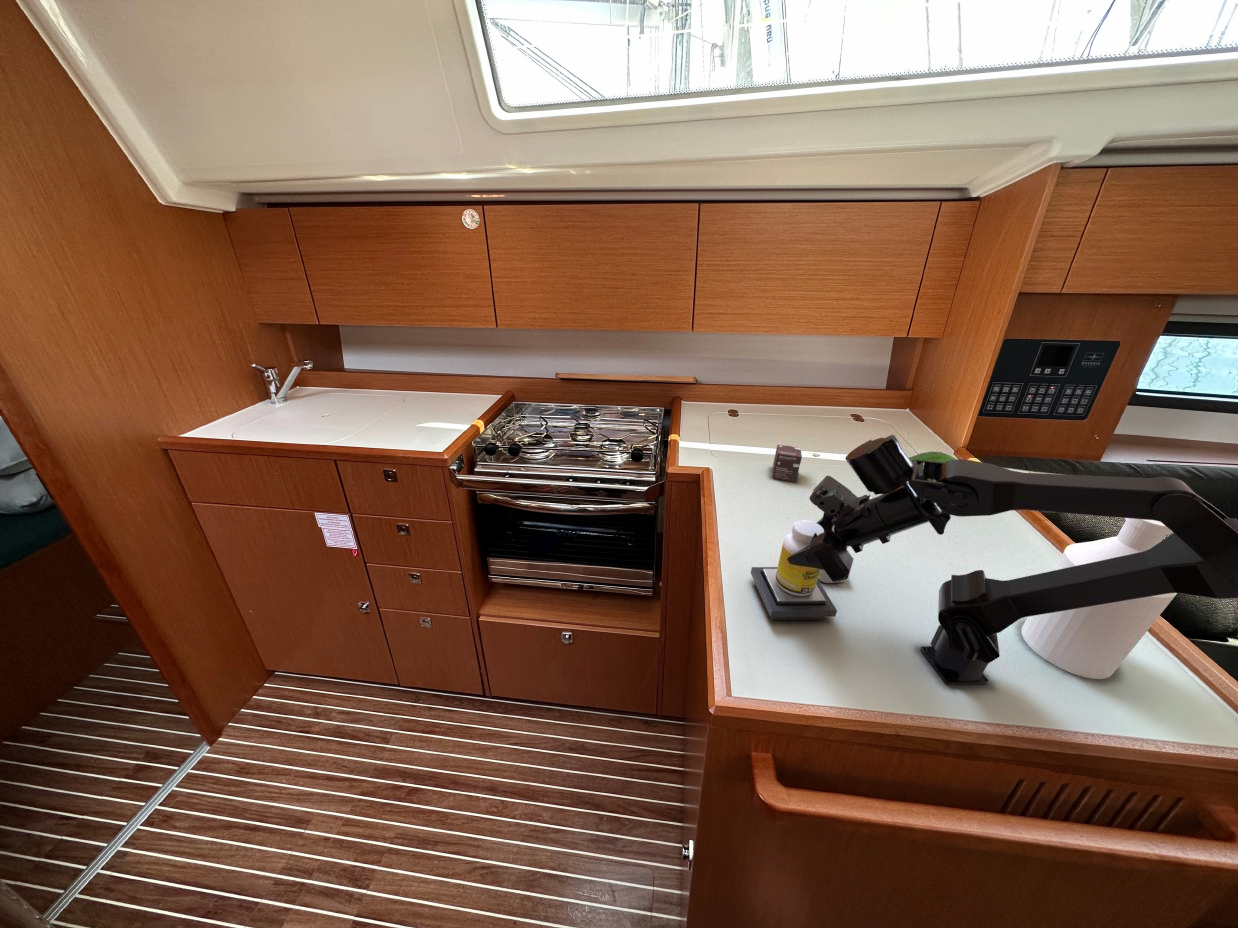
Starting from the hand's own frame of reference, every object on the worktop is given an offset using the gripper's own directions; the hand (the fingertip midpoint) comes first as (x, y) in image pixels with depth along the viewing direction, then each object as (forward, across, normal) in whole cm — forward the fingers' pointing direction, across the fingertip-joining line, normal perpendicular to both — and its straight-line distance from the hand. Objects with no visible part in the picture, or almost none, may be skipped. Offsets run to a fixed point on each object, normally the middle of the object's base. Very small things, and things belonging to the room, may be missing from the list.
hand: (793, 550), depth 78 cm
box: (+16, -47, -1) cm, 50 cm away
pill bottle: (+4, 0, +6) cm, 7 cm away
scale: (+7, 0, +8) cm, 10 cm away
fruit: (-6, -61, +21) cm, 65 cm away
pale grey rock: (+5, -13, +10) cm, 17 cm away
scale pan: (+5, 0, +6) cm, 8 cm away
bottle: (-21, -14, +37) cm, 45 cm away
